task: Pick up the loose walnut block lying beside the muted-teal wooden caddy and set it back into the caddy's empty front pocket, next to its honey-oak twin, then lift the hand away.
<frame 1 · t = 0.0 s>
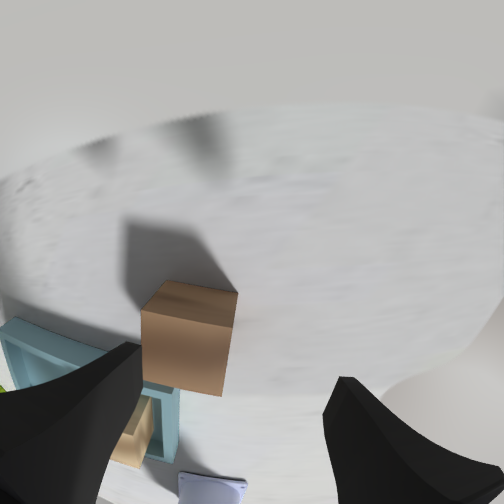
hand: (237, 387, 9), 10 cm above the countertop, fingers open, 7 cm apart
caddy: (90, 385, 22), on the countertop
walnut block: (198, 318, 20), on the countertop
oak twin block: (126, 405, 21), point 1 cm above the countertop, touching caddy
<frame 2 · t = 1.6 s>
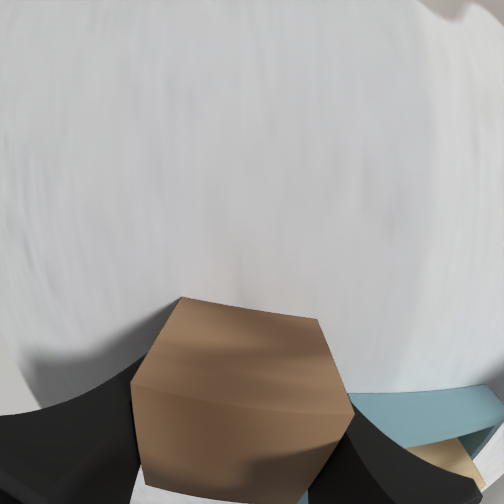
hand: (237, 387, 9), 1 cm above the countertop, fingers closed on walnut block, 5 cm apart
caddy: (364, 483, 13), on the countertop
walnut block: (239, 364, 11), on the countertop, touching gripper
oak twin block: (398, 459, 11), point 1 cm above the countertop, touching caddy
when the fingers open (4 cm above the countertop, at t = 5.3 s): walnut block drops 1 cm, resting on caddy.
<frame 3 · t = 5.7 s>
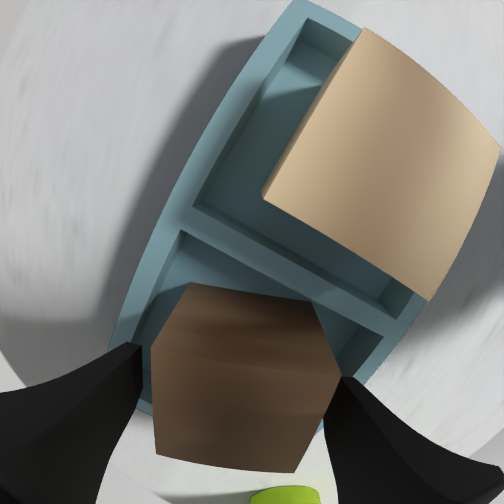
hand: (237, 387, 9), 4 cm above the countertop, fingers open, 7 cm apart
caddy: (290, 256, 12), on the countertop
walnut block: (241, 344, 12), point 1 cm above the countertop, touching caddy
soap dispenser: (281, 496, 18), on the countertop
oak twin block: (348, 168, 10), point 1 cm above the countertop, touching caddy
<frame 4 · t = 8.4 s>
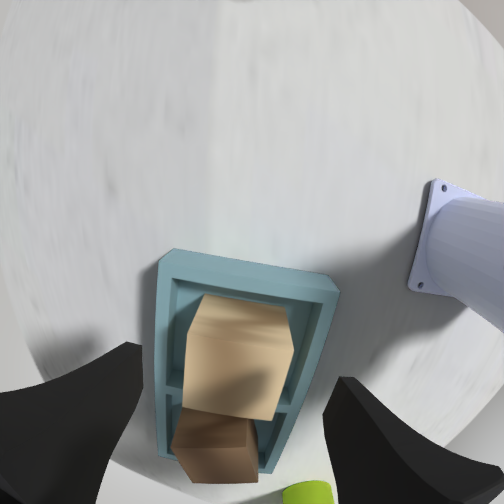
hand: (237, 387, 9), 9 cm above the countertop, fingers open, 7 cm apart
caddy: (230, 375, 20), on the countertop
walnut block: (222, 420, 20), point 1 cm above the countertop, touching caddy
soap dispenser: (303, 489, 25), on the countertop
oak twin block: (238, 334, 18), point 1 cm above the countertop, touching caddy
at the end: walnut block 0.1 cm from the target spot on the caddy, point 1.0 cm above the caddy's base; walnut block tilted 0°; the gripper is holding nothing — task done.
